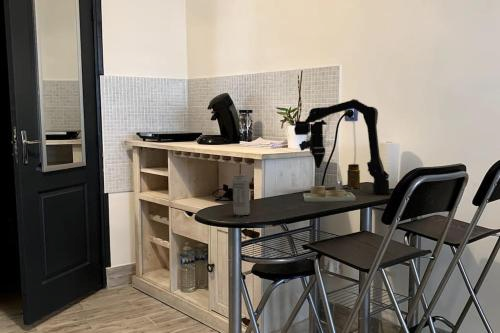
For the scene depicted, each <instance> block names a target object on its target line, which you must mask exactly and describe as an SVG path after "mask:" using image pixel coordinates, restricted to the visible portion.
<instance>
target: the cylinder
mask: <svg viewBox="0 0 500 333" xmlns="http://www.w3.org/2000/svg"><path fill="white" fill-rule="evenodd" d="M334 185H335V186H334V187H335V190H343V181H342V180H336V181H335V184H334Z"/></svg>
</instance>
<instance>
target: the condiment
mask: <svg viewBox="0 0 500 333" xmlns="http://www.w3.org/2000/svg"><path fill="white" fill-rule="evenodd" d="M347 166H348V167H347V172H346V173H347V174H346V175H347V187H353V188H357V187H361V179H360V178H361V175H360V174H361V170H360V164H358V163H353V164H352V163H350V164H348V165H347Z"/></svg>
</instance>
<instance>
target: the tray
mask: <svg viewBox="0 0 500 333" xmlns="http://www.w3.org/2000/svg"><path fill="white" fill-rule="evenodd" d="M346 192H347V197H313V198H311V192H307V193H306V192H303V197H304V198H303V201H304V203H323V202H324V203H325V202H326V203H327V202H356V196H355V195H354V194H353V193H352V192H351V191H349V192H348V191H346Z"/></svg>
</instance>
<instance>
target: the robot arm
mask: <svg viewBox="0 0 500 333" xmlns="http://www.w3.org/2000/svg"><path fill="white" fill-rule="evenodd" d="M352 109H354V110H355V111H357V112H359V113H360V114H362V116H363V119H364V123H365V125H366V128H367V136H368V147H369V155H370V160H369V161H368V162H366V164H367V165H366V166H367V172H368V173H369V176H370V177H372V178H373V182H372V193H373V194H374V195H375V196H377V195H378V196H379V195H391V193H390V180H389V177H390V175H389V173H388V172H386V171H385V167H384V164H383V161H382V159H381V156H380V147H379V146H380V145H379V136H378V130H377V129H378V128H377V125H378V120H379V118H378V117H379V111H378V109H377V108H376V107H374V106H368V105H367V104H365V103H363V102H362V101H361V102H360V101H359V100H358V99H354V98H353V99H351V100H348V101H344V102H340V103H337V104H334V105H333V104H332V105H330V106H324V107H313V108H311V109H310V111H309V112H308V116H307V118H306V119H304V120H303V121H302V120H295V125H294V128H293V129H294V130H293V131H294V134H295V136H308V135H309V133H310V137H309V140H303V141H301V142H300V143H299V144H298V147H299V148H300V151H304V150H306V149H309V153H310V154H311V156H313V160H314V165H315V167H316V169H320V167H321V165H322V162H323V159H324V158H325V154H326V148H325V147H324V131H323V130H324V126H325V125H328V123H327V122H326V121H325V120H324V119H325V118H327V117H329V116H331V115H333V114H337V113H341V112H344V111H348V110H352Z"/></svg>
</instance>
